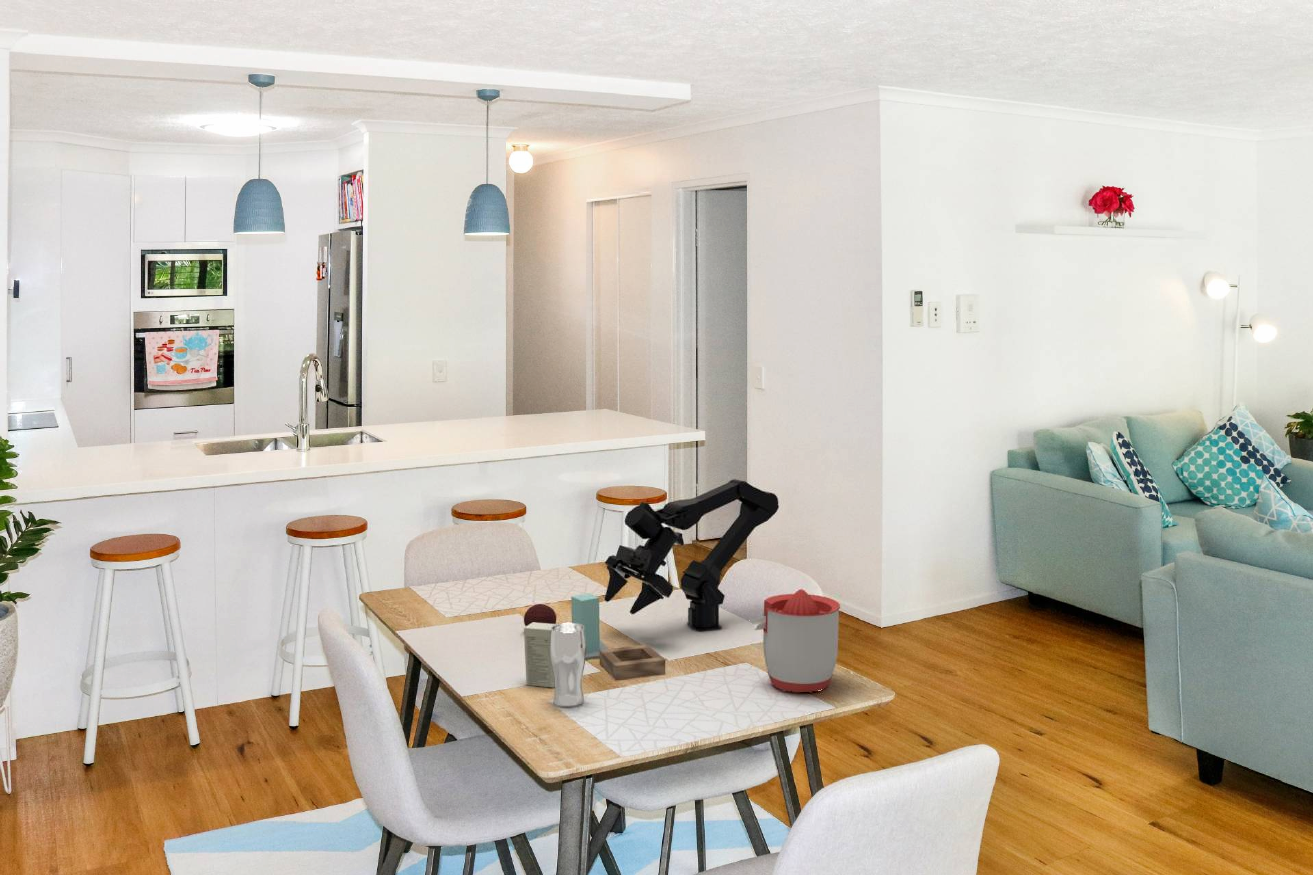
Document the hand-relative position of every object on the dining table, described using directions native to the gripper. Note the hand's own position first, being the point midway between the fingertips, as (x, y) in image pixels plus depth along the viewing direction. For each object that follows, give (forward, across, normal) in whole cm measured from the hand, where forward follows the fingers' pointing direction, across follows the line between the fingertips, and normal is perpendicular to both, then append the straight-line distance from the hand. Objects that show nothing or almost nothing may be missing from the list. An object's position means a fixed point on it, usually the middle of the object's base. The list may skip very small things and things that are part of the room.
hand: (618, 607), depth 250 cm
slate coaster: (+12, 0, -1) cm, 12 cm away
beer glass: (+24, +22, -18) cm, 38 cm away
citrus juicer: (-4, +44, +12) cm, 46 cm away
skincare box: (+24, +10, -16) cm, 30 cm away
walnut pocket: (+11, +15, -1) cm, 19 cm away
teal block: (+12, 0, -1) cm, 12 cm away
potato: (+14, -18, +1) cm, 23 cm away
